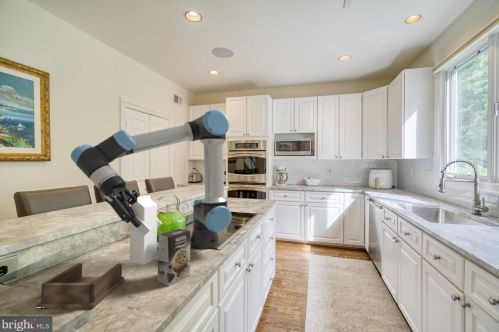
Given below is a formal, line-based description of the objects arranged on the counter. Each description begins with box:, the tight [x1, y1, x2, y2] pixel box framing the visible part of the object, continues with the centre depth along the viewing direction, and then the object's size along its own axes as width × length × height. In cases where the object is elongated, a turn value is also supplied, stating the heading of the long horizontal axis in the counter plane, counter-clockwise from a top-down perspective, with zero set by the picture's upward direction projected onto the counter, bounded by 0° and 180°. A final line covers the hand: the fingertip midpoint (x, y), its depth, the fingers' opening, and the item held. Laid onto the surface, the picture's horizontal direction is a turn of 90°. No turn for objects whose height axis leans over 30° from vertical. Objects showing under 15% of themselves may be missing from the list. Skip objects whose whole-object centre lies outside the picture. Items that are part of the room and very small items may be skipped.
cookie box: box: [157, 228, 192, 287], centre depth 75 cm, size 9×6×16 cm
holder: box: [36, 262, 125, 310], centre depth 66 cm, size 15×15×6 cm
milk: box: [129, 194, 158, 266], centre depth 74 cm, size 6×6×22 cm
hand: (153, 229), depth 74 cm, fingers closed on milk, 7 cm apart
